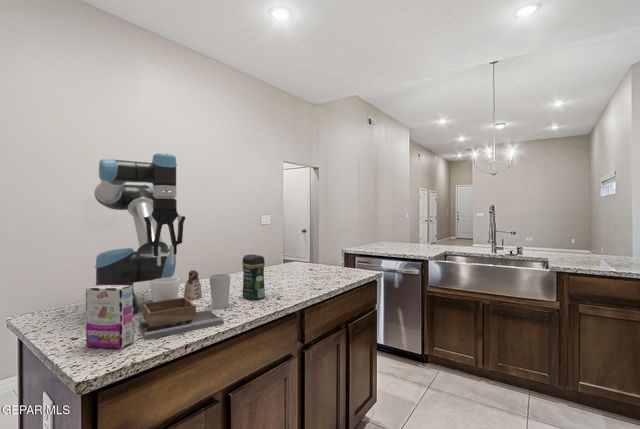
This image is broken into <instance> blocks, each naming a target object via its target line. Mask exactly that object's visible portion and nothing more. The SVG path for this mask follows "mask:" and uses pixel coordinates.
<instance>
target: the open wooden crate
mask: <svg viewBox="0 0 640 429" xmlns="http://www.w3.org/2000/svg"><path fill="white" fill-rule="evenodd" d="M196 312H197V305H195V304H194V303H193V302H192V301H191V300H188V299H187V298H186V297H185V298H184V297H180V298H178V299H171V300H164V301H158V302H153V301H152V302H146V303H145V302H144V303H142V317H143V319H144V321H146V323H147V324H148V326H149V327H153V329H156V330H157V329H159V328H160V327H161V325H165V324H170V323H176V322H181V321H185V322H186V323H190V322H192V320H193V319H196Z"/></svg>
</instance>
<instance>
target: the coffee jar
mask: <svg viewBox="0 0 640 429" xmlns="http://www.w3.org/2000/svg"><path fill="white" fill-rule="evenodd" d="M241 263H242V271H243V275H242V278H243V279H242V297H243V298H244V299H248V300H249V301H254V300H262V299H263V298H265V296H266V292H265V290H266V289H265V276H264V275H265V274H264V273H265V264H266V263H265V257H264V256H263V255H257V254H246V255H244V256H243V257H242V262H241Z"/></svg>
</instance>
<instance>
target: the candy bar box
mask: <svg viewBox="0 0 640 429" xmlns="http://www.w3.org/2000/svg"><path fill="white" fill-rule="evenodd" d="M133 289H134V284H133V285H96V284H95V285H93V286H90V287H86V288H85V317H86V318H85V320H86V321H85V325H86V328H85V329H86V334H85V336H86V340H85V341H86V345H85V346H86V348H99V349H113V350H114V349H115V350H116V349H117V350H121V349H124V348H126V347H128V346H130V345H132V344H134V342H135V338H134V337H135V336H134V335H135V334H134V333H135V332H134V314H133Z"/></svg>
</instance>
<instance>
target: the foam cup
mask: <svg viewBox="0 0 640 429" xmlns="http://www.w3.org/2000/svg"><path fill="white" fill-rule="evenodd" d="M180 281H181V279H180V278H179V277H171V278H160V279H155V280H151V281H149V286H150V287H149V288H150V290H151V297H152V302H158V301H164V300H171V299H178V297H179V291H180V290H179V289H180V285H181V282H180Z"/></svg>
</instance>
